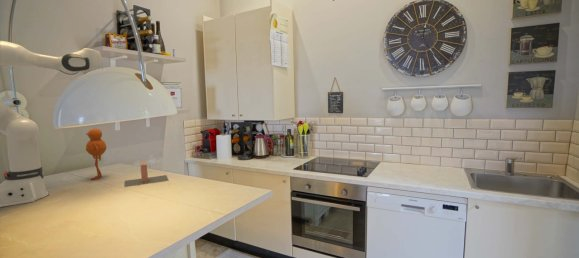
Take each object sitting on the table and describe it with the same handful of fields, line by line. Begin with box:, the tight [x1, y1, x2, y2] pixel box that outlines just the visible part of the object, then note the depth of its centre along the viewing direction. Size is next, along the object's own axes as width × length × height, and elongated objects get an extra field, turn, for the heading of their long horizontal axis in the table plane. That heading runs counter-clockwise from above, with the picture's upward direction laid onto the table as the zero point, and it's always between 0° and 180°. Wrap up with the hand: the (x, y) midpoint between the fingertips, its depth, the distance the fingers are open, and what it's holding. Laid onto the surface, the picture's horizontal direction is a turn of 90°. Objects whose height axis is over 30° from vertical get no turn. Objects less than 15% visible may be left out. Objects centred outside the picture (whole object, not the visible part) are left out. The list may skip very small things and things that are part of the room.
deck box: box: [139, 162, 149, 183], centre depth 163 cm, size 3×7×10 cm, turn 29°
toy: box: [85, 128, 107, 181], centre depth 171 cm, size 14×10×30 cm
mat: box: [123, 174, 169, 188], centre depth 164 cm, size 22×14×1 cm, turn 119°
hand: (96, 105), depth 155 cm, fingers open, 8 cm apart
